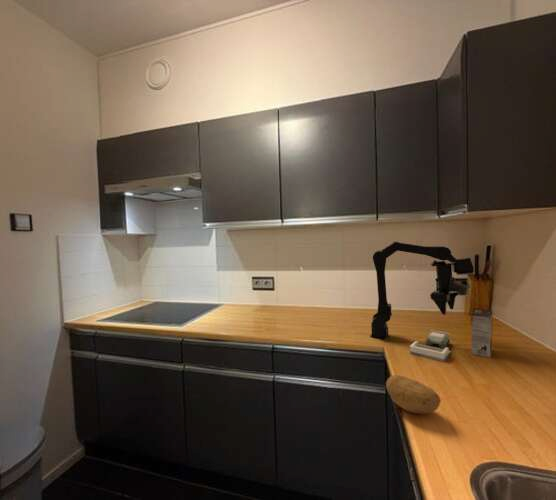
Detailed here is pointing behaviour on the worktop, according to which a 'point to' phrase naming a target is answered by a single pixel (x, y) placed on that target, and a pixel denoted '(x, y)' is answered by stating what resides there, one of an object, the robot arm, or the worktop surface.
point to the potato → (412, 395)
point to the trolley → (438, 339)
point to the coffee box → (481, 332)
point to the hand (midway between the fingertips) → (448, 311)
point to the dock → (429, 351)
